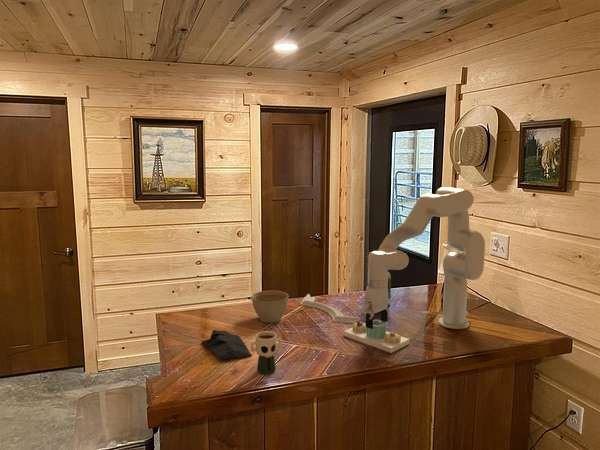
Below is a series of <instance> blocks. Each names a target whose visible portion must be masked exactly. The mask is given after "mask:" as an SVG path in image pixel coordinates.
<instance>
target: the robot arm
mask: <svg viewBox="0 0 600 450" xmlns="http://www.w3.org/2000/svg"><path fill="white" fill-rule="evenodd" d="M474 201H475V198H474V195H473V193H472V192H471V191H470V190H468V189H465V188H457V187H448V186H447V187H440V188H438V189H437V190H436V191H435V194H433V193H425V194H424V193H423V194H422V195H421V196H419V198H417V200H416V202H415V204H414V205H413V207H412V208H411V210H410V212H409V213H408V215H407V217H406V218H405V220H404V222H402V224H400V225H399V226H398V227H396V228H394V229H393V230H392V231H391V232H389V233H388V234H387V235H386V236H385V238H384V239H383V240H382V242H381V244H380V245H379V248H378V250H373V251H369V254H368V258H367V259H368V261H367V286H366V290H365V296H364V306H363V308H362V314H363V316H364V318H365V323H366V327H367V328H370V329H373V320H374V315H375V314H377V313H379V312H380V317H379V320H381V321H384V322H385V323H388V322H389V320H388V319H389V311H390V308H391V303H392V299H391V298H390V299H389V298H388V287H387V278H388V272H389V270H393V271H400V270H403V269H406V267H407V266H408V265H409V261H410V260H409V256H408V254H407V253H406V252H404V251H402V250H399V249H398V247H399V246H400V245H401V244H402V243H403V242H405V241H408V240H410V239H413V238H416V237H420V236H421V235H423V233H424V232H425V230H426V229H427V227H428V226H429V224H430V222H431V221H432V220H433V217H438V218H445V217H447V240H446V241H447V245H448V247H450V248H451V249H453V250H456V251H451V252H448V253H447V254H446V255H445V256H444V257H443V260H442V270H443V276H444V280H443V281H444V282H443V283H444V284H443V297H442V300H443V301H442V316H441V317H440V318H439V319H438V325H440V326H442V327H444V328H447V329H453V330H463V329H467V328H468V327H469V326H470V323H469V321H468V320H467V318H466V317H467V316H469V311H467V304H468V303H467V302H468V301H467V298H468V280H469V281H476V280H478V279H479V278H481V277H482V276H483V275H482V274H483V272H484V268H485V252H486V242H485V237H484V236H483V234H482V233H481V232H479V231H477V230H473V229H470V214H469V211H468V210H470V208H471V207H472V206H473V204H474ZM458 251H460V252H458ZM461 252H462V253H461Z"/></svg>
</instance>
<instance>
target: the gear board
mask: <svg viewBox="0 0 600 450" xmlns="http://www.w3.org/2000/svg"><path fill="white" fill-rule="evenodd" d="M373 320H374V324H375V325H379V320H380V319H373ZM366 333H367V327H366V322H363V321H361V320H360V321H357V323H354V324H352V327H351V328H350V327H349V328H347V329H346V330H345V329H344V331H343V336H344V337H346V338H349V339H352V340H355V341H357V342H360V343H363V344H365V345H368V346H370V347H374V348H377V349H379V350H382V351H384V352H387V353H389V354H392V353H394V352H397V351H398V350H400V349H402V348H404V347H405V346H407V345H409V344H410V338H408V337H404V336H401V334H398V333H396V332H392V331H390V332H389V331H386V334H385V335H384V338H383V339H375V338H374V339H372V338H371V337H370V338H369V337H368V336H367V335H366Z"/></svg>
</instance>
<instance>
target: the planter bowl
mask: <svg viewBox="0 0 600 450" xmlns="http://www.w3.org/2000/svg"><path fill="white" fill-rule="evenodd" d="M251 300H252V307H253V309H254V311H255V313H256V315H257V316H258V318H259V320H260V322H262V323H269V324H271V323H277V322H280V321H281V320H282V317H283V315H284V314H285V313H286V310H287V307H288V303H289V302H288V301H289V294H288V293H287V292H284V291H281V290H262V291H257V292H256V293H254V294H252V295H251Z"/></svg>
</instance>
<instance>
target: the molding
mask: <svg viewBox="0 0 600 450" xmlns="http://www.w3.org/2000/svg"><path fill="white" fill-rule="evenodd" d="M315 300H316V297H315V296H312V297H311V294H310V293H307V294H306V295H305V296H304V298H303V299H302V300H301V302H300V304H299V306H301V307H309V308H313V309H317V310H320V311H322V312H325V313H327V314H328V315H329V316H331V318H332V322H333V323H343V324H352V325H354V323H357V321H360V322H361V317H359V316H347V315H344V314H343V313H342V312H341V311H339V310H338V309H337V308H335V307H332V306H330V305H328V304H327V305H326V304H324V303H321V302H318V301H315Z"/></svg>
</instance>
